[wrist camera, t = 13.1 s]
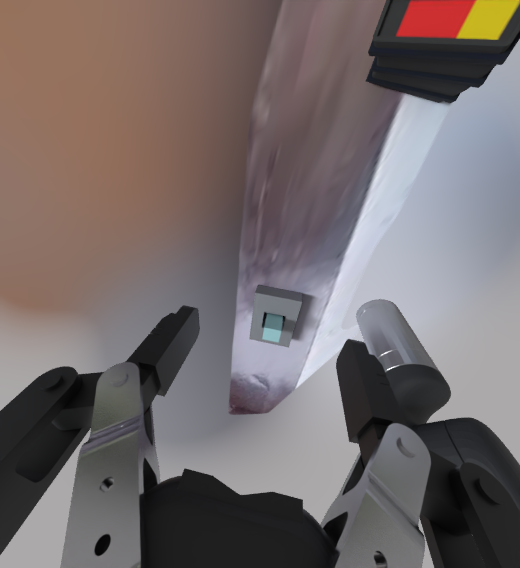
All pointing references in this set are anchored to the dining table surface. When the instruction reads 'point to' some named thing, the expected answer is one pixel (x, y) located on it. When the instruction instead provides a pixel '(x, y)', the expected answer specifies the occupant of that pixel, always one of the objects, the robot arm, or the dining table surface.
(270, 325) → the teal rectangular block
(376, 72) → the black ridged block
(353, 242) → the dining table surface
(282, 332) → the grey slotted block
